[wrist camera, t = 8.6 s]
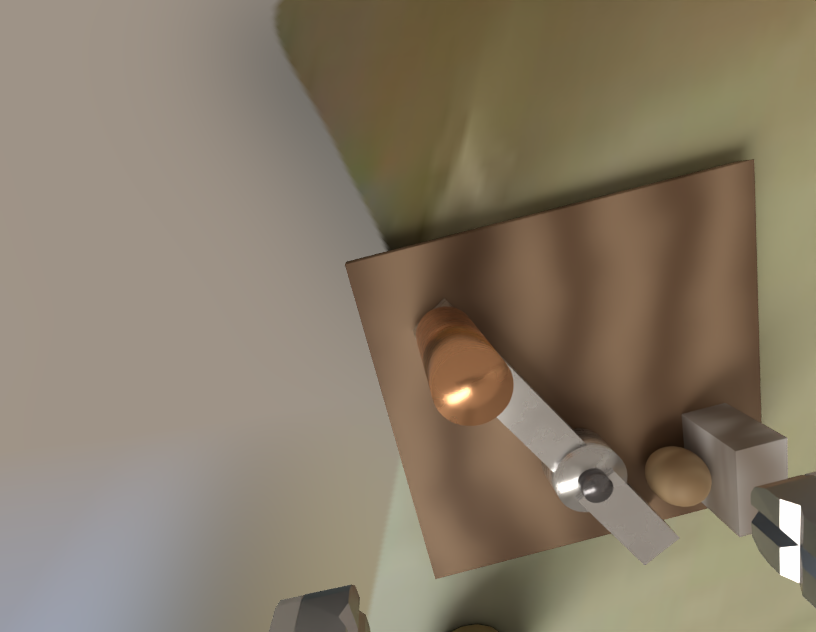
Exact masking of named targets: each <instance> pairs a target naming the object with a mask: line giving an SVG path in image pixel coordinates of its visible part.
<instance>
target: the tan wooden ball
mask: <svg viewBox="0 0 816 632" xmlns="http://www.w3.org/2000/svg"><path fill="white" fill-rule="evenodd" d="M645 477H646V480H647V483H648V485H649V487H650V488H651V490H652V491H653V492H654V493H655V494H656V495H657V496H658V497H659V498H660V499H662V500H663V501H665V502H667V503H669V504H672V505H675V506H681V507H688V506H693V505H696V504H699V503H700V502H702V501H703V500H704V499H705V498H706V497H707V496H708V494H709V492H710V490H711V485H712V479H711V474H710V471H709V469H708V467H707V465H706V464H705V463H704V461H703V460H702V459H701V458H700V457H699V456H698V455H696V454H695V453H693V452H691V451H689V450H687V449H685V448H681V447H676V446H668V447H663V448H660V449H658V450H656V451H655V452H653V453H652V454H651V455H650V456H649V458H648V460H647V462H646V465H645Z"/></svg>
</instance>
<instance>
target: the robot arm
mask: <svg viewBox="0 0 816 632" xmlns="http://www.w3.org/2000/svg"><path fill="white" fill-rule="evenodd" d="M751 505H752V506H754V507H755V508H756V509H757V510H758V513H757V514H756V516H755V517H754V519H753V520H752V522H751V527H752V537H753V539H754V541H755V543H756V545H757V547H758V550H759V552H760V553H761V554H762V555H763V557H764V558H765V559H766V561H767V562H768V563H769V564H770V565H771V566H772V567H773V568H774V569H775V570H776V571H777V572H778V573H779V574H780V575H782V576H785V577H787V578H789V579H791V580H794V581H796V582H798V583H800V587H801V591H802V595H803V597H804V598H805V599H807V600H808V601H809V602H810V603H811V604H812V605H813V606H814V607H815V608H816V472H812V473H808V474H805V475H800V476H796V477H792V478H788V479H784V480H780V481H776V482H772V483H768V484H764V485H760V486H756V487H754V489H753V490H752V492H751ZM359 604H360V597H359V595H358V592H357V589H356V587H355V585H347V586H343V587H338V588H333V589H329V590H324V591H320V592H314V593H310V594H305V595H303V596H298V597H293V598H289V599H284V600H280V602H279V603H278V605H277V606H276V608H275V611H274V615H273V619H272V622H271V626H270V630H269V632H370V627H369V623H368V620H367V617H366V615H365V614H364V613H362V612H361V611H359Z"/></svg>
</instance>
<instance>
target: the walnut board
mask: <svg viewBox="0 0 816 632" xmlns="http://www.w3.org/2000/svg"><path fill="white" fill-rule="evenodd" d="M345 266H346V270H347V273H348V277H349V280H350V284H351V287H352V291H353V294H354V298H355V301H356V304H357V308H358V311H359V315H360V318H361V322H362V325H363V329H364V332H365V336H366V339H367V343H368V346H369V350H370V353H371V357H372V360H373V363H374V367H375V370H376V374H377V377H378V381H379V384H380V388H381V391H382V395H383V398H384V402H385V405H386V409H387V412H388V416H389V419H390V422H391V426H392V429H393V433H394V436H395V440H396V443H397V447H398V450H399V454H400V457H401V461H402V464H403V468H404V471H405V475H406V478H407V482H408V485H409V489H410V492H411V495H412V499H413V502H414V506H415V509H416V513H417V516H418V520H419V523H420V527H421V530H422V534H423V537H424V541H425V544H426V548H427V551H428V554H429V558H430V561H431V565H432V568H433V572H434V575H435V579H437V578H441V577H445V576H449V575H453V574H457V573H460V572H464V571H468V570H472V569H476V568H480V567H484V566H487V565H491V564H495V563H499V562H503V561H507V560H510V559H514V558H518V557H522V556H526V555H530V554H534V553H537V552H541V551H545V550H549V549H553V548H557V547H561V546H564V545H568V544H572V543H576V542H580V541H584V540H587V539H591V538H595V537H599V536H603V535H607V534H611V532H610V531H609V530H607V529H606V528H605V527H604V526H603V525H602V524H601V523H600V522H599V521H598V520H597V519H596V518H595V517H594V516H593V515H592V514H591V513H590V512H578V511H575V510H572V509H570V508H568V507H567V506H566V505H564V504H563V502H562V501H561V500H560V498H559V497H558V495H557V493H556V492H555V490H554V489H553V487H552V485H551V484H550V482H549V481H548V479H547V477H546V476H545V474H544V472H543V469H542V464H541V462H542V461H541V460H540V459H539V458H538V457H537V456H536V455H535V454H534V453H533V452H532V451H531V450H530V449H529V448H528V447H527V446H526V445H525V444H524V443H523V442H522V441H521V440H519V439H518V438H517V437H516V436H515V435H514V434H513V433H512V432H511V431H510V430H509V429H508V428H507V427H506V426H505V425H504V424H503V423H502V422H501V421H500V420H499V419H498V418H497V417H496V418H495V419H493V420H491V421H489V422H487V423H484V424H481V425H476V426H464V425H459V424H455V423H453V422H451V421H449V420H448V419H446V418H445V417H444V416H442V414H441V413H440V412H439V411H438V410H437V408H436V406H435V404H434V401H433V398H432V395H431V391H430V388H429V384H428V381H427V377H426V374H425V370H424V367H423V363H422V359H421V356H420V352H419V349H418V345H417V341H416V339H415V336H414V333H413V328H414V327H415V326H416V325H417V324H418V323H419V322H420V320H421V319H422V318H423V317H424V315H425V314H427V313H428V312H429V311H431V310H432V309H433V308H435V307H436V306H437V305H438V304H439V303H440V302H441V301H442V300H443V299H444V298H445V299H446V300H447V301H448V302H449V303H450V304H451V305H452V306H453V307H454V308H457V309H459V310H461V311H463V312H464V313H465V314H466V315H467V316H468V317H469V318H470V319H471V321H472V322H473V323H474V324H475V325H476V327H477V328H478V329H479V330H480V332H481V333H482V334H483V335H484V337H485V338H486V339H487V340H488V342H489V343H490V344H491V345H492V346H493V348H494V349H495V350H496V351H497V352H498V353H499V354H500V355H501V356H502V357H503V358H504V359H505V360H506V361H507V362H508V363H509V364H510V365H511V366H512V367H513V368H514V369H515V370H516V371H517V372H518V373H519V374H520V375H521V376H522V378H523V379H524V380H525V381H526V382H527V383H528V384H529V385H530V386H531V387H532V388H533V389H534V390H535V391H536V392H537V393H538V394H539V395H540V396H541V397H542V398H543V399H544V400H545V401H546V402H547V403H548V404H549V405H550V406H551V407H552V408H553V409H554V410H555V411H556V412H557V413H558V414H559V415H560V416H561V417H562V418H563V419H564V420H565V421H566V422H567V423H568V424H569V425H570V426H571V427H572V428H573V429H576V428H582V429H587V430H591V431H593V432H595V433H596V434H598V435H599V436H600V437H601V438H602V439H603V440H604V441H605V442H606V443H607V445H608V446H609V447H610V448H611V449H612V450H613V451H614V452H615V453H616V454H617V455H618V456H619V457H620V458H621V459H622V461H623V462H624V464H625V466H626V469H627V482H628V483H629V484H630V485H631V486H632V487H633V489H634V490H635V491H636V492H637V493H638V494H639V495H640V496H641V497H642V498H643V499H644V500H645V501H646V502H647V503H648V504H649V505H650V506H651V507H652V508H653V509H654V510H655V511H656V512H657V513H658V515H659V516H660V517H661V518H662V519H663V520H664V519H668V518H672V517H676V516H680V515H684V514H688V513H691V512H695V511H699V510H703V509H707V508H708V509H710V510H711V511H712V512H713V513H714V514H715V515H716V516H717V517H718V518H719V519H720V520H721V521H723V522H724V523H725V524H726V525H727V526H728V527H729V528H730V529H731V530H732V531H733V532H735V533H736V534H737V535H738V536H739V537H742V536H746V535H749V534H752V527H751V522H752V520H753V519H754V517H755V516H756V514H757V513H758V510H757V509H756V508H755V507H754V506H752V505H751V492H752V490H753V489H754V487H756V486H760V485H764V484H768V483H772V482H776V481H780V480H784V479H788V462H787V437H785V436H783V435H781V434H779V433H778V432H776V431H774V430H772V429H771V428H769V427H767V426H765V425H764V424H762V423H761V393H760V357H759V321H758V284H757V248H756V212H755V175H754V159H753V160H745V161H737V162H733V163H729V164H725V165H721V166H717V167H713V168H710V169H706V170H702V171H698V172H694V173H690V174H686V175H682V176H678V177H675V178H671V179H667V180H663V181H659V182H655V183H651V184H647V185H643V186H640V187H636V188H632V189H628V190H624V191H620V192H616V193H612V194H608V195H605V196H601V197H597V198H593V199H589V200H585V201H581V202H577V203H573V204H569V205H566V206H562V207H558V208H554V209H550V210H546V211H542V212H538V213H534V214H531V215H527V216H523V217H519V218H515V219H511V220H507V221H503V222H499V223H496V224H492V225H488V226H484V227H480V228H476V229H472V230H468V231H464V232H461V233H457V234H453V235H449V236H445V237H441V238H437V239H433V240H429V241H426V242H422V243H418V244H414V245H410V246H406V247H402V248H398V249H394V250H390V251H387V252H383V253H379V254H375V255H372V256H367V257H363V258H360V259H355V260H352V261H348V262H346V264H345ZM668 446H676V447H681V448H685V449H687V450H689V451H691V452H693V453H695V454H696V455H698V456H699V457H700V458H701V459H702V460H703V461H704V463H705V464H706V465H707V467H708V469H709V471H710V474H711V479H712V485H711V490H710V492H709V494H708V496H707V497H706V498H705V499H704V500H703V501H702V502H700V503H699V504H696V505H693V506H688V507H681V506H675V505H672V504H669V503H667V502H665V501H663V500H662V499H660V498H659V497H658V496H657V495H656V494H655V493H654V492H653V491H652V490H651V488H650V487H649V485H648V483H647V480H646V477H645V465H646V462H647V460H648V458H649V456H650V455H651V454H652V453H653V452H655V451H656V450H658V449H660V448H663V447H668Z"/></svg>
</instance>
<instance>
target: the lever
mask: <svg viewBox="0 0 816 632" xmlns="http://www.w3.org/2000/svg"><path fill="white" fill-rule="evenodd" d="M413 333H414V336H415V339H416V341H417V345H418V349H419V352H420V356H421V359H422V363H423V367H424V370H425V374H426V377H427V381H428V384H429V388H430V391H431V395H432V398H433V401H434V404H435V406H436V408H437V410H438V411H439V412H440V413H441V414H442V416H444V417H445V418H446V419H448V420H449V421H451V422H453V423H455V424H459V425H464V426H476V425H481V424H484V423H487V422H489V421H491V420H493V419H495V418H496V417H497V418H498V419H499V420H500V421H501V422H502V423H503V424H504V425H505V426H506V427H507V428H508V429H509V430H510V431H511V432H512V433H513V434H514V435H515V436H516V437H517V438H518V439H519V440H521V441H522V442H523V443H524V444H525V445H526V446H527V447H528V448H529V449H530V450H531V451H532V452H533V453H534V454H535V455H536V456H537V457H538V458H539V459H540V460H541V461H542V462H541V464H542V469H543V472H544V474H545V476H546V477H547V479H548V481H549V482H550V484H551V485H552V487H553V489H554V490H555V492H556V493H557V495H558V497H559V498H560V500H561V501H562V502H563V504H564V505H566V506H567V507H568V508H570V509H572V510H575V511H578V512H590V513H591V514H592V515H593V516H594V517H595V518H596V519H597V520H598V521H599V522H600V523H601V524H602V525H603V526H604V527H605V528H606V529H607V530H609V531H610V532H611V533H612V534H613V535H614V536H615V537H616V538H617V539H618V540H619V541H620V542H621V543H622V544H623V545H624V546H625V547H626V548H627V549H628V550H629V551H630V552H631V553H632V554H634V555H635V556H636V557H637V558H638V559H639V560H640V561H641V562H642V563H643V564H644V565H646V564H647V563H648V562H650V561H651V560H652V559H654V558H655V557H656V556H657V555H659V554H660V553H661V552H663V551H664V550H665V549H666V548H668V547H669V546H670V545H671V544H673V543H674V542H675V541H677V540H678V539H679V537H678V536H677V534H676V533H675V532H674V531H673V530H672V529H671V528H670V527H669V526H668V524H667V523H666V522H665V521H664V520H663V519H662V518H661V517H660V516H659V515H658V513H657V512H656V511H655V510H654V509H653V508H652V507H651V506H650V505H649V504H648V503H647V502H646V501H645V500H644V499H643V498H642V497H641V496H640V495H639V494H638V493H637V492H636V491H635V490H634V489H633V487H632V486H631V485H630V484H629V483H628V482H627V469H626V466H625V464H624V462H623V461H622V459H621V458H620V457H619V456H618V455H617V454H616V453H615V452H614V451H613V450H612V449H611V448H610V447H609V446H608V445H607V443H606V442H605V441H604V440H603V439H602V438H601V437H600V436H599V435H598V434H596V433H595V432H593V431H591V430H587V429H582V428H576V429H573V428H572V427H571V426H570V425H569V424H568V423H567V422H566V421H565V420H564V419H563V418H562V417H561V416H560V415H559V414H558V413H557V412H556V411H555V410H554V409H553V408H552V407H551V406H550V405H549V404H548V403H547V402H546V401H545V400H544V399H543V398H542V397H541V396H540V395H539V394H538V393H537V392H536V391H535V390H534V389H533V388H532V387H531V386H530V385H529V384H528V383H527V382H526V381H525V380H524V379H523V378H522V376H521V375H520V374H519V373H518V372H517V371H516V370H515V369H514V368H513V367H512V366H511V365H510V364H509V363H508V362H507V361H506V360H505V359H504V358H503V357H502V356H501V355H500V354H499V353H498V352H497V351H496V350H495V349H494V348H493V346H492V345H491V344H490V343H489V342H488V340H487V339H486V338H485V337H484V335H483V334H482V333H481V332H480V330H479V329H478V328H477V327H476V325H475V324H474V323H473V322H472V321H471V319H470V318H469V317H468V316H467V315H466V314H465V313H464V312H463V311H461V310H459V309H457V308H454V307H453V306H452V305H451V304H450V303H449V302H448V301H447V300H446V299H445V298H444V299H443V300H442V301H441V302H440V303H439V304H438V305H437V306H436V307H435V308H433V309H432V310H431V311H429V312H428V313H427V314H425V315H424V317H423V318H422V319H421V320H420V322H419V323H418V324H417V325H416V326H415V327H414V328H413Z"/></svg>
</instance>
